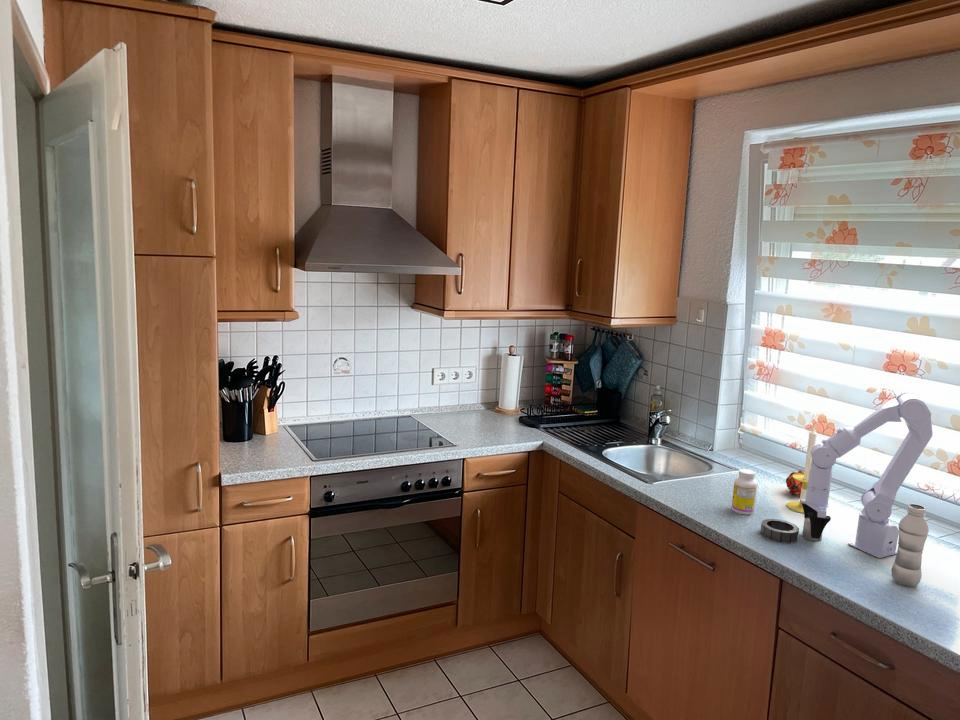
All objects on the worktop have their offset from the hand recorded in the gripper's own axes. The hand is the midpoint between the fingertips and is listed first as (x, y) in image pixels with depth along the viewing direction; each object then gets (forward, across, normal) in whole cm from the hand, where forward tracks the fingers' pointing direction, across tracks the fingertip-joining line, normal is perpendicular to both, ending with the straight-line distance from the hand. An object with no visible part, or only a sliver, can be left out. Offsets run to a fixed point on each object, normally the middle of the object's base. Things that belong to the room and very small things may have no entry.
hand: (812, 532), depth 202 cm
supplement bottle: (+2, -15, -17) cm, 22 cm away
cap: (+2, 0, 0) cm, 2 cm away
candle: (+2, -24, +2) cm, 24 cm away
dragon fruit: (+2, -37, +4) cm, 37 cm away
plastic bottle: (+2, +22, +17) cm, 28 cm away
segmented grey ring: (+2, +2, -9) cm, 9 cm away
